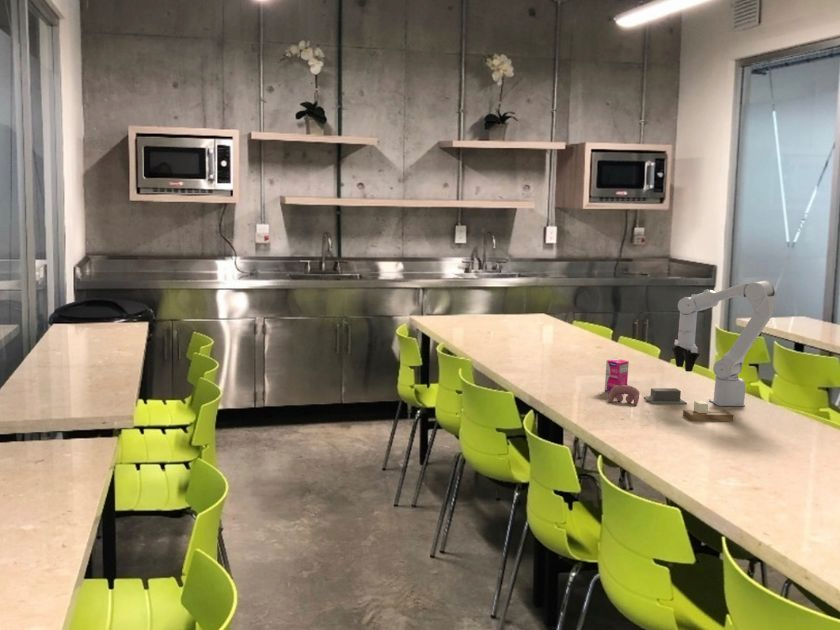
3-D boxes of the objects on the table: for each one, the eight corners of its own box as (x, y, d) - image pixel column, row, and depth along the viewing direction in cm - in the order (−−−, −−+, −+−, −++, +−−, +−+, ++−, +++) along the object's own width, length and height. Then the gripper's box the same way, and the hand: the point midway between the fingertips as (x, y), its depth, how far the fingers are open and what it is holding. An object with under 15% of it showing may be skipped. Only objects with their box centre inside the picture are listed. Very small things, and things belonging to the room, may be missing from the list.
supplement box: (603, 391, 301) (605, 359, 299) (613, 389, 305) (615, 358, 303) (617, 394, 297) (619, 362, 295) (627, 392, 300) (629, 360, 299)
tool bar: (675, 398, 292) (676, 388, 291) (680, 401, 288) (680, 391, 287) (644, 398, 291) (645, 388, 290) (649, 400, 287) (649, 390, 286)
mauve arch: (638, 408, 285) (641, 388, 287) (637, 405, 281) (639, 384, 283) (609, 404, 288) (612, 384, 290) (607, 401, 284) (610, 381, 286)
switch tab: (702, 410, 270) (703, 401, 269) (707, 413, 266) (708, 403, 266) (693, 410, 269) (694, 400, 269) (698, 413, 266) (699, 403, 265)
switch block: (724, 415, 272) (724, 409, 272) (733, 420, 266) (733, 414, 266) (682, 415, 271) (683, 409, 270) (690, 420, 265) (691, 414, 264)
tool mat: (676, 398, 294) (677, 396, 294) (686, 404, 286) (686, 402, 286) (643, 398, 293) (644, 396, 293) (652, 403, 285) (652, 402, 285)
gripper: (667, 327, 303) (664, 364, 305) (684, 334, 289) (681, 373, 290) (686, 327, 304) (683, 364, 306) (704, 334, 289) (701, 373, 291)
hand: (684, 369), depth 298 cm, fingers open, 7 cm apart
